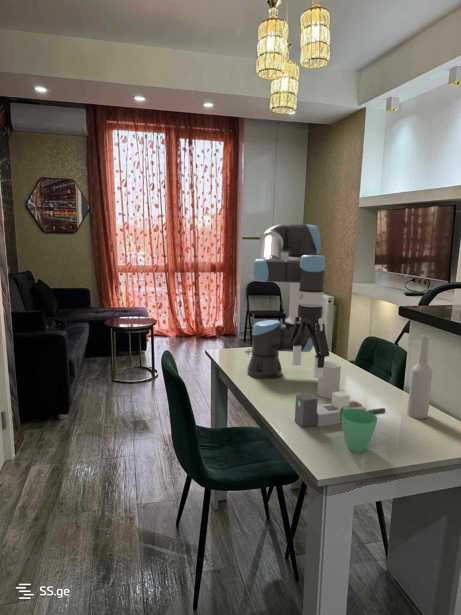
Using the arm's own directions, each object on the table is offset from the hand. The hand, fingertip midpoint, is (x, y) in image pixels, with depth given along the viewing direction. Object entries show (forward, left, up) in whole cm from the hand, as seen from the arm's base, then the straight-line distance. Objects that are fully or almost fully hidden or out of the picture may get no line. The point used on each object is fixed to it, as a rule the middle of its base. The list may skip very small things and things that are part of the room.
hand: (306, 371), depth 135 cm
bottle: (+6, +41, -18) cm, 45 cm away
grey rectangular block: (0, +2, -17) cm, 18 cm away
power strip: (0, +18, -18) cm, 25 cm away
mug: (+17, +6, -18) cm, 25 cm away
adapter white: (0, +13, -14) cm, 19 cm away
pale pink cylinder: (-20, +22, -18) cm, 35 cm away
